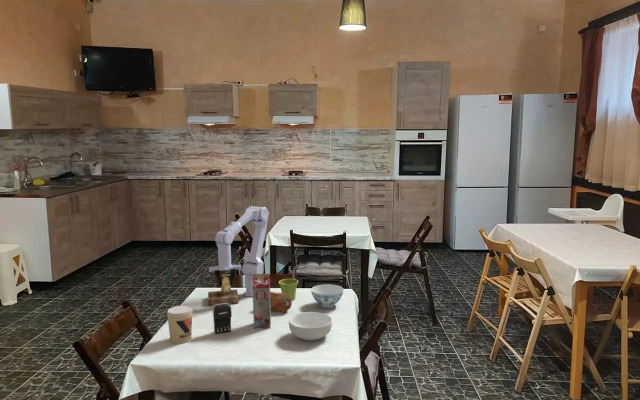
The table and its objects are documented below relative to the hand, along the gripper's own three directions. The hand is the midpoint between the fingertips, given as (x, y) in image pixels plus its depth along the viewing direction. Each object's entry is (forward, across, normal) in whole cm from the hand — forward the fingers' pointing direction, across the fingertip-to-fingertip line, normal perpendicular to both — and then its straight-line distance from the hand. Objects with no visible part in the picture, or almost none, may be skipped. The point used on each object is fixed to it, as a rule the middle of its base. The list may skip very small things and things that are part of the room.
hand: (225, 285), depth 214 cm
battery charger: (+10, -3, -32) cm, 33 cm away
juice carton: (+10, +13, -29) cm, 33 cm away
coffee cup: (+10, -19, -35) cm, 41 cm away
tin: (+10, +22, -13) cm, 27 cm away
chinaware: (+10, +45, -13) cm, 48 cm away
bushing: (+2, 0, 0) cm, 2 cm away
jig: (+9, -1, +7) cm, 12 cm away
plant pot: (+10, +30, +1) cm, 31 cm away
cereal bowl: (+10, +30, -45) cm, 55 cm away
